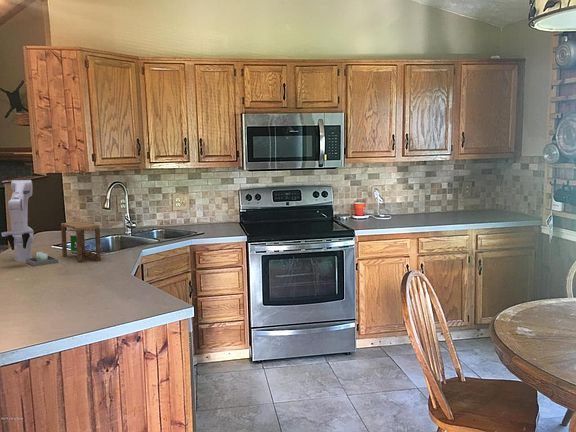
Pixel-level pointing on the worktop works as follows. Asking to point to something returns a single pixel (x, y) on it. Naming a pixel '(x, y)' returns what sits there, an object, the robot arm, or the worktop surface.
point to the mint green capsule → (43, 257)
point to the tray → (34, 261)
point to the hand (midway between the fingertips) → (18, 248)
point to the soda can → (73, 242)
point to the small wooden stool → (81, 239)
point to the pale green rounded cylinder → (38, 256)
